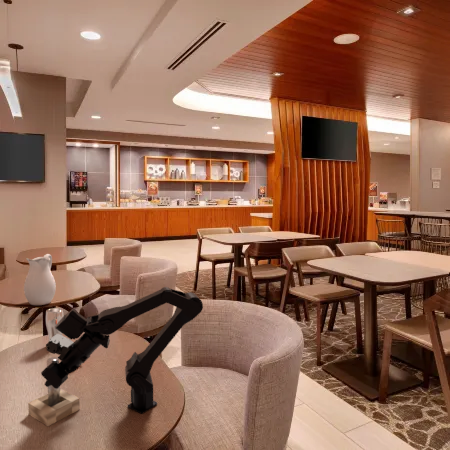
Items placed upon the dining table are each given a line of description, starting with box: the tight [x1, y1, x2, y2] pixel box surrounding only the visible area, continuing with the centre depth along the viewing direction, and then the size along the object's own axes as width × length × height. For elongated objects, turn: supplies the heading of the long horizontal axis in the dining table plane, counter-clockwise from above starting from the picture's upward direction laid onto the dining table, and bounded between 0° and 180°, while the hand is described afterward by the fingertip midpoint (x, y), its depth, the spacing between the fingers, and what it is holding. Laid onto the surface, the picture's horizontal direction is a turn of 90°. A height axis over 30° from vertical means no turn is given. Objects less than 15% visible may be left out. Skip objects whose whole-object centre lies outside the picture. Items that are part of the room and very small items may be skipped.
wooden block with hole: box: [27, 388, 81, 427], centre depth 111 cm, size 10×10×4 cm
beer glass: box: [45, 307, 65, 343], centre depth 161 cm, size 7×7×15 cm
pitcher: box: [23, 253, 57, 306], centre depth 226 cm, size 24×17×28 cm
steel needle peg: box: [46, 356, 61, 407], centre depth 110 cm, size 3×3×14 cm
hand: (49, 382), depth 110 cm, fingers closed on steel needle peg, 3 cm apart
